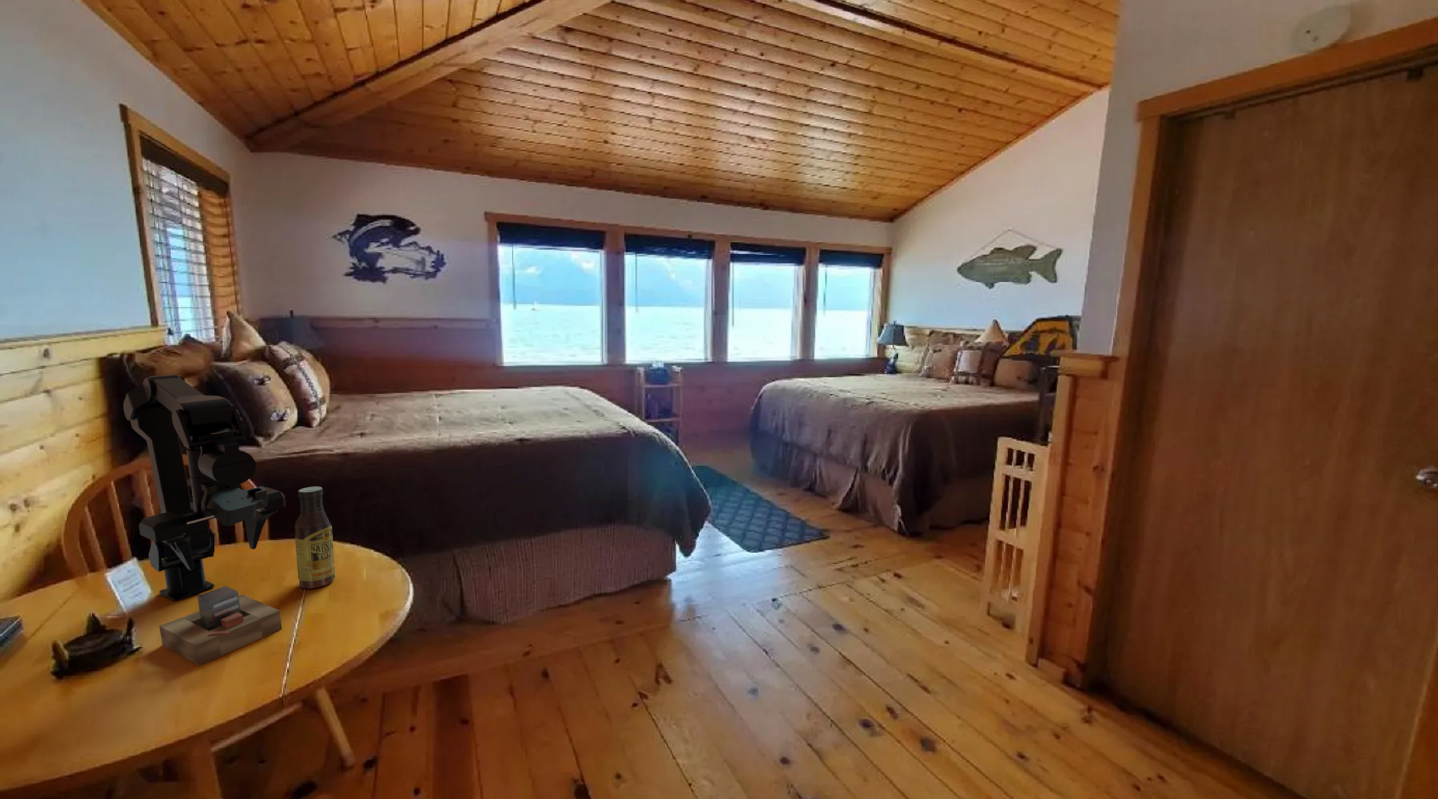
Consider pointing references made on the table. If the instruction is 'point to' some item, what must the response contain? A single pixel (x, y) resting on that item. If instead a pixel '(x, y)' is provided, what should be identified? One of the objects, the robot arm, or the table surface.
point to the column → (217, 606)
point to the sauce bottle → (313, 541)
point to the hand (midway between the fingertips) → (223, 558)
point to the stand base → (220, 631)
